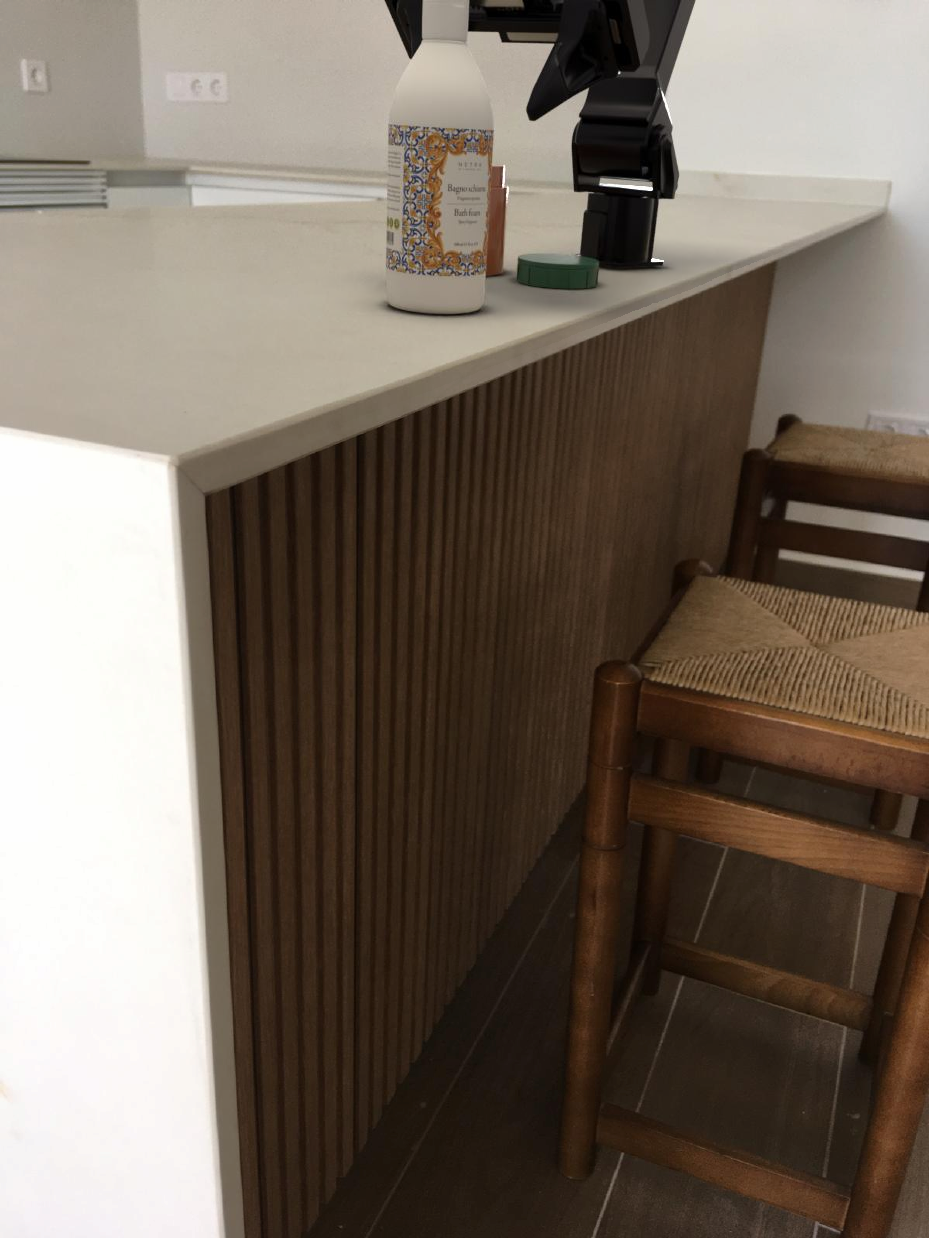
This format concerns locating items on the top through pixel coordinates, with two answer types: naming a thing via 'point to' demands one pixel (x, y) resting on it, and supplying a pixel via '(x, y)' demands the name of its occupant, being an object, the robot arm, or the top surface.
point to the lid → (557, 271)
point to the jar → (497, 221)
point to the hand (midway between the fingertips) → (469, 112)
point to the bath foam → (439, 171)
